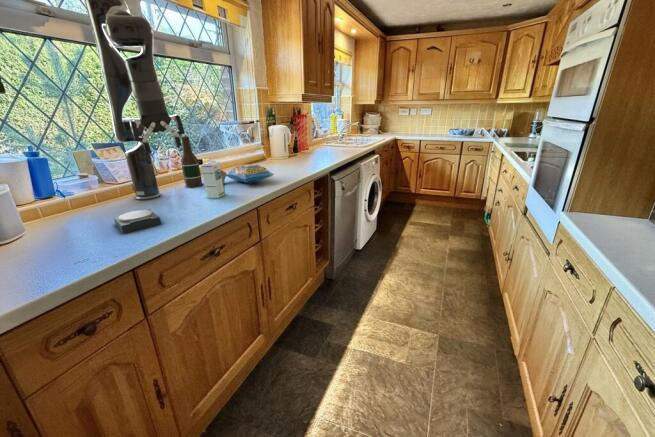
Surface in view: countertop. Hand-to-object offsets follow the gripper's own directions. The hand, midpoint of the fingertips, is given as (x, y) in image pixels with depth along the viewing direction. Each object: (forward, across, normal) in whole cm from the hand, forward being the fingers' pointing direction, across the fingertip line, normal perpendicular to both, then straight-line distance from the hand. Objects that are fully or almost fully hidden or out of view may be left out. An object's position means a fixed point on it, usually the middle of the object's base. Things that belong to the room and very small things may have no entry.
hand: (164, 150), depth 97 cm
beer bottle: (+34, -15, -42) cm, 56 cm away
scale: (+22, +14, +1) cm, 27 cm away
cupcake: (+34, -26, -36) cm, 56 cm away
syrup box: (+29, -17, -14) cm, 36 cm away
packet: (+33, -40, -28) cm, 59 cm away
